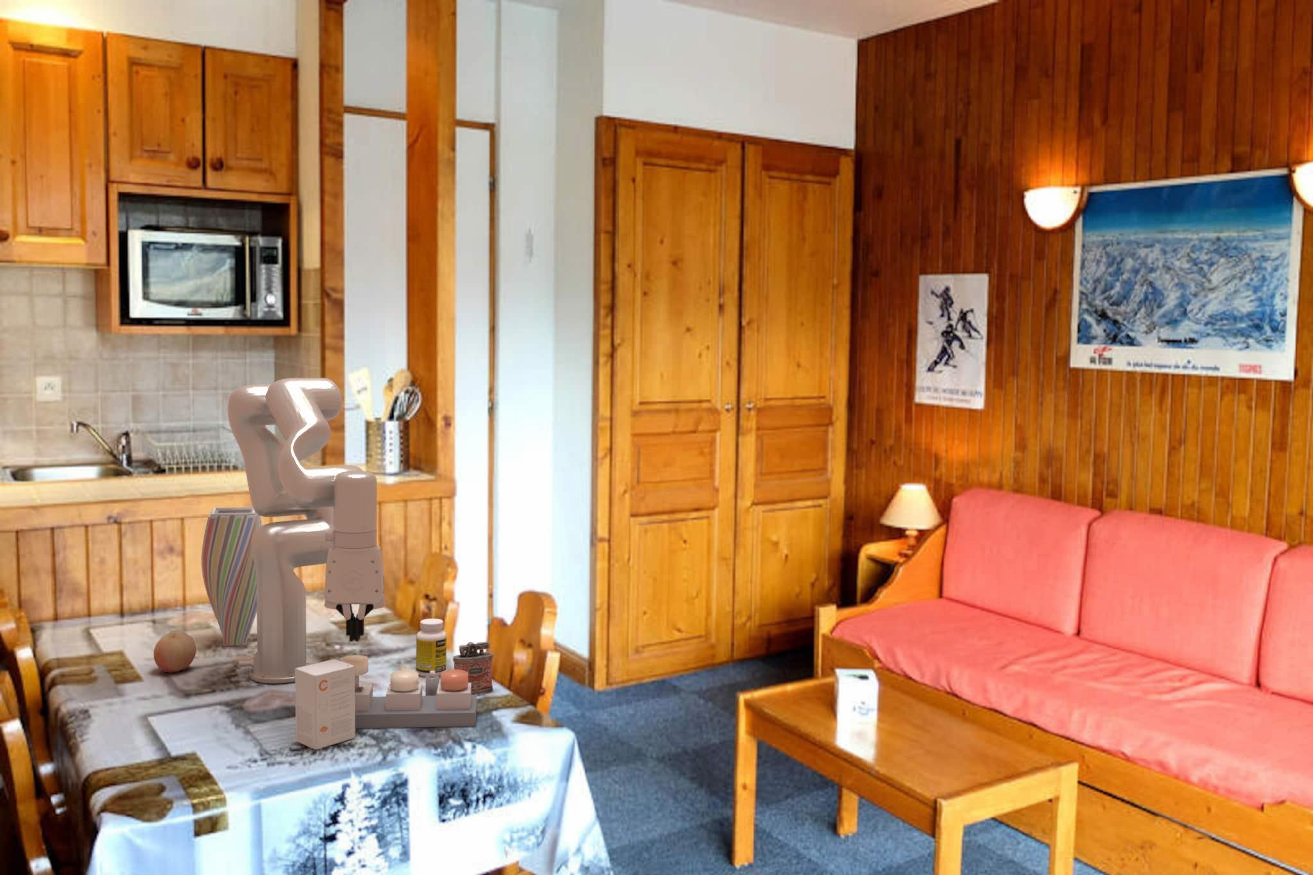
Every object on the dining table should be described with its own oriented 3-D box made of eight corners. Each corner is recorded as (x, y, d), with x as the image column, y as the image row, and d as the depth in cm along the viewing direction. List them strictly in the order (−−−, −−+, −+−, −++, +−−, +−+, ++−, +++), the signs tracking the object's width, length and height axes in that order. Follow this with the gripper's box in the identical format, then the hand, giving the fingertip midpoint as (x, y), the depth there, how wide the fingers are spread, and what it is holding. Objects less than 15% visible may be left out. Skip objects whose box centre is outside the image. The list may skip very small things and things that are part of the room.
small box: (334, 729, 203) (334, 657, 201) (356, 738, 198) (356, 665, 197) (294, 741, 196) (294, 667, 195) (315, 750, 192) (315, 675, 191)
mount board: (327, 728, 203) (327, 698, 202) (335, 710, 213) (335, 681, 212) (475, 726, 206) (475, 696, 206) (476, 707, 216) (476, 679, 215)
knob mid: (388, 707, 206) (389, 678, 206) (391, 698, 211) (391, 670, 211) (417, 707, 207) (417, 678, 206) (419, 698, 212) (419, 669, 211)
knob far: (439, 706, 207) (439, 677, 207) (441, 697, 212) (441, 669, 212) (467, 706, 208) (467, 677, 208) (468, 697, 213) (468, 669, 212)
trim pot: (424, 705, 217) (425, 673, 216) (425, 700, 219) (426, 669, 219) (438, 704, 217) (439, 673, 217) (439, 700, 220) (439, 669, 219)
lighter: (455, 697, 222) (456, 647, 221) (450, 692, 225) (451, 642, 224) (495, 692, 226) (495, 642, 225) (489, 687, 228) (490, 638, 228)
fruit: (147, 670, 234) (146, 632, 233) (185, 662, 240) (185, 625, 239) (164, 679, 229) (163, 640, 228) (203, 671, 234) (202, 633, 234)
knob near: (337, 692, 205) (337, 663, 204) (341, 683, 210) (341, 655, 209) (366, 692, 205) (366, 662, 205) (369, 683, 210) (369, 654, 210)
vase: (267, 633, 264) (266, 505, 262) (266, 648, 252) (265, 514, 249) (204, 636, 260) (203, 506, 257) (200, 652, 247) (199, 516, 245)
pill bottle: (439, 678, 233) (439, 626, 232) (411, 676, 234) (411, 623, 233) (450, 670, 239) (451, 618, 238) (423, 667, 240) (423, 616, 239)
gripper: (308, 543, 200) (309, 645, 202) (395, 543, 202) (395, 644, 204) (315, 535, 208) (315, 634, 210) (399, 536, 210) (399, 633, 212)
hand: (355, 639), depth 207 cm, fingers closed
